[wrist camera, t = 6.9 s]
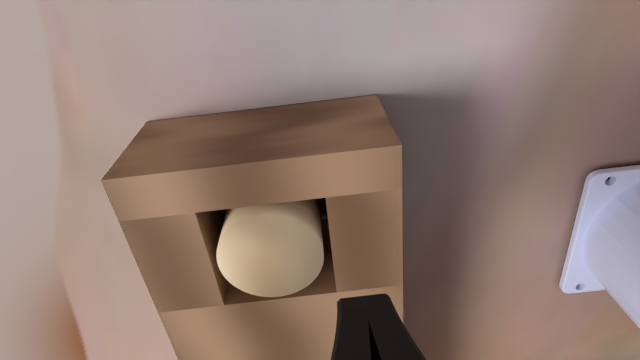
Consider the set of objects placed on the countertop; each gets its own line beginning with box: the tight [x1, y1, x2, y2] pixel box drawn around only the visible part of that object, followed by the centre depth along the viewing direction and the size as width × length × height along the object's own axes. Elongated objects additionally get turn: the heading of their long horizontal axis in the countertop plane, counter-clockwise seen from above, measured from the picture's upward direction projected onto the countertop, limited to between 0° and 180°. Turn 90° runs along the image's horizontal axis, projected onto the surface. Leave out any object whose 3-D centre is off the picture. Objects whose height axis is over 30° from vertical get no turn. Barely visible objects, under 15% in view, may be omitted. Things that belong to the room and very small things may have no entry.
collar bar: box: [101, 94, 403, 360], centre depth 21 cm, size 10×20×5 cm, turn 6°
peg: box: [216, 198, 324, 297], centre depth 18 cm, size 4×4×5 cm
